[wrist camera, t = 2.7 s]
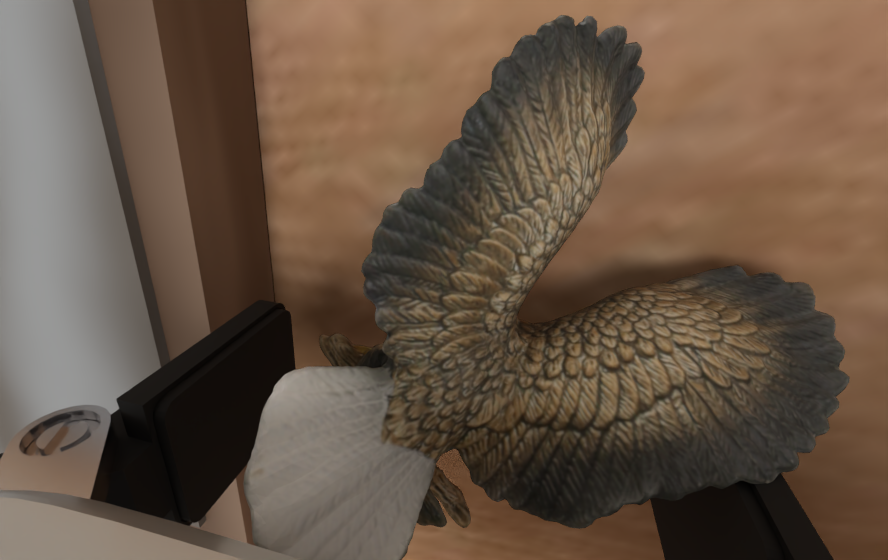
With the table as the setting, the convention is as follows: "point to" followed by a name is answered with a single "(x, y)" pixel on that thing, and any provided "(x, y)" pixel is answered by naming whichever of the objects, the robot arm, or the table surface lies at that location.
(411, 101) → the table surface
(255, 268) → the picture frame
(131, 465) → the robot arm
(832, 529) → the table surface
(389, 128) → the table surface
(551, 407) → the eagle figurine
